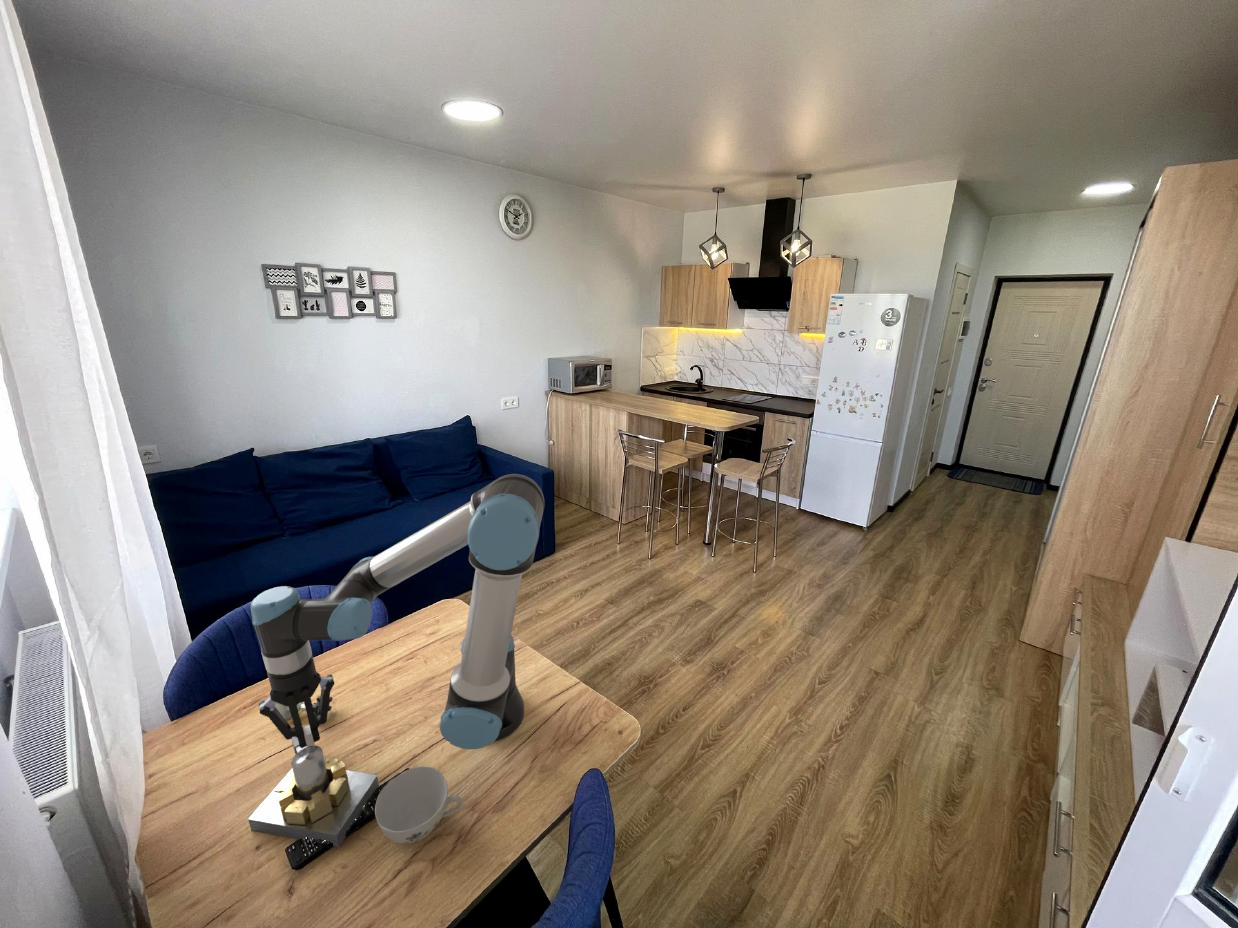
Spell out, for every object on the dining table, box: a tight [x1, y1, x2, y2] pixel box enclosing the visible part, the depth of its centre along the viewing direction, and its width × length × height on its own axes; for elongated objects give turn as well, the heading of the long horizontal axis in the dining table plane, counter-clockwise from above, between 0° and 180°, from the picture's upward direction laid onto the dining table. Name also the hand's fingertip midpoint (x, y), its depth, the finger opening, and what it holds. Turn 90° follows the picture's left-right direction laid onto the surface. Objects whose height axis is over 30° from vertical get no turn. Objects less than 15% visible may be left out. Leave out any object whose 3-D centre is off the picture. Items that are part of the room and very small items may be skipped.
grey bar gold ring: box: [277, 737, 349, 825], centre depth 97 cm, size 11×21×4 cm, turn 42°
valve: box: [274, 695, 333, 722], centre depth 115 cm, size 7×7×12 cm
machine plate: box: [247, 745, 380, 848], centre depth 93 cm, size 18×12×13 cm, turn 82°
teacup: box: [374, 765, 463, 845], centre depth 91 cm, size 15×12×8 cm
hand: (313, 753), depth 102 cm, fingers closed
